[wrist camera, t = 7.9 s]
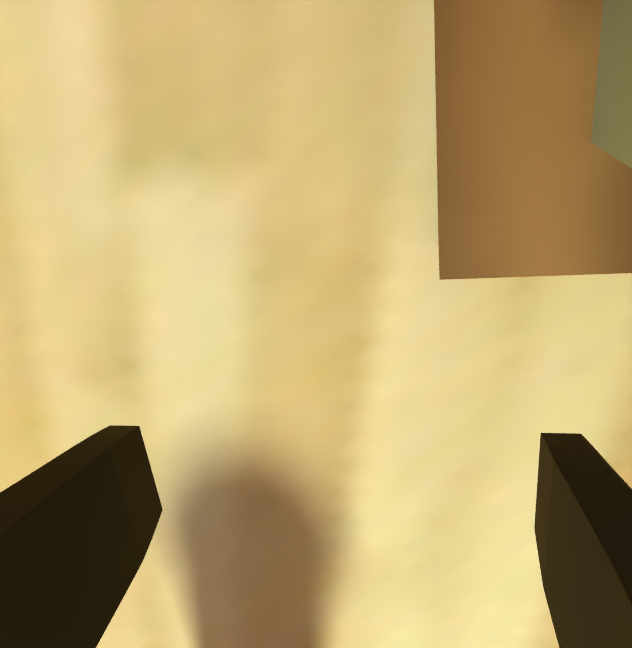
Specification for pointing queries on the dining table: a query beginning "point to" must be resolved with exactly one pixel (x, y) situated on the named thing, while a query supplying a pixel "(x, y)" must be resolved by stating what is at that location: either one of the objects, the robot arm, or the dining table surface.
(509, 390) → the dining table surface
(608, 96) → the cube
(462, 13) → the base block
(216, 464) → the dining table surface
